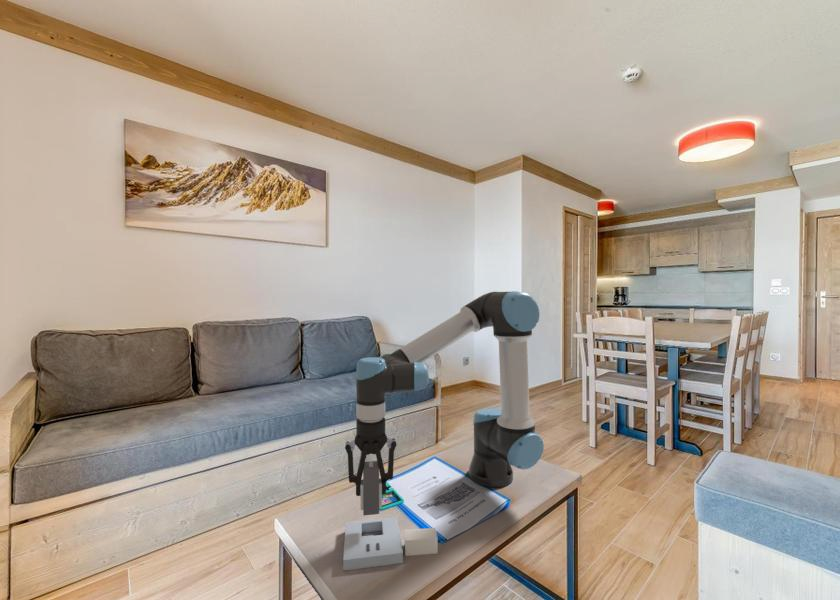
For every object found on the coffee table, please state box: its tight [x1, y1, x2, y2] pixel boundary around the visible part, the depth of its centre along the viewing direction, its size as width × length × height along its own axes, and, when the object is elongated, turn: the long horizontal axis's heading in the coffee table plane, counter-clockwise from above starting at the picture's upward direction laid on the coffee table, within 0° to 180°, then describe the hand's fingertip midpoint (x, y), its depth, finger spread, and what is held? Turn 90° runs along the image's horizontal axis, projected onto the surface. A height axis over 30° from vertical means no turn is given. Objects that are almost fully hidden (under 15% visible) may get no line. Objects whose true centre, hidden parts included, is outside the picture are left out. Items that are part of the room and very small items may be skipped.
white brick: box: [404, 527, 439, 557], centre depth 91 cm, size 8×4×4 cm, turn 95°
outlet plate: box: [342, 516, 404, 571], centre depth 92 cm, size 14×14×3 cm
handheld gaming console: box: [379, 480, 405, 511], centre depth 115 cm, size 8×1×15 cm
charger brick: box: [362, 460, 380, 516], centre depth 95 cm, size 4×4×12 cm
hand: (371, 505), depth 95 cm, fingers closed on charger brick, 4 cm apart
